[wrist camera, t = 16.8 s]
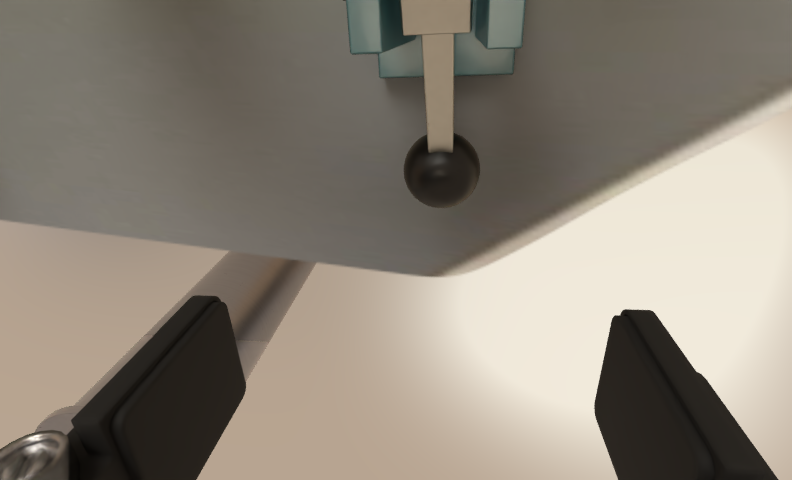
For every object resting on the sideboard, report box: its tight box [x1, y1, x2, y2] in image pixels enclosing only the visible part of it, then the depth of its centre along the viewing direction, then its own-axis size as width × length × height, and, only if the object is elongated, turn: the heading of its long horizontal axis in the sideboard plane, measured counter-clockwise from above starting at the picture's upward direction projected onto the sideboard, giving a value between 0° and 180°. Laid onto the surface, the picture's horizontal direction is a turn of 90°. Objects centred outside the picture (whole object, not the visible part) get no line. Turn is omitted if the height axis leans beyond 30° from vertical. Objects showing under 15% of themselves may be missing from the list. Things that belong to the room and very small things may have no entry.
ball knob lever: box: [399, 0, 480, 208], centre depth 17 cm, size 12×4×4 cm, turn 2°
